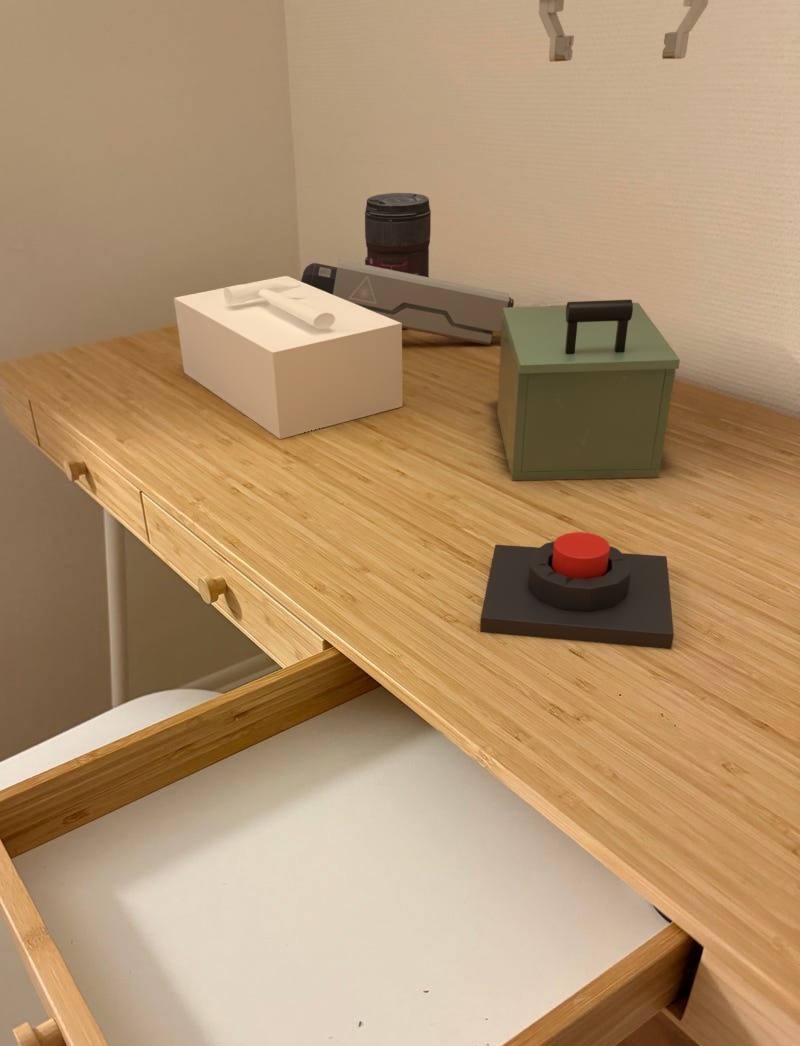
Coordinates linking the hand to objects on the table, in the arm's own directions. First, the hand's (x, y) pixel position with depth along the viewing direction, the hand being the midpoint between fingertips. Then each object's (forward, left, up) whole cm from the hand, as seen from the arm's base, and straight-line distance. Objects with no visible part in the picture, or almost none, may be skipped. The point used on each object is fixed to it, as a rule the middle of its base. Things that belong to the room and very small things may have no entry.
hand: (615, 59), depth 79 cm
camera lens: (+12, -35, -31) cm, 48 cm away
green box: (+3, +8, -30) cm, 32 cm away
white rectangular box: (+29, -14, -30) cm, 44 cm away
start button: (+12, +36, -27) cm, 46 cm away
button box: (+12, +36, -30) cm, 48 cm away
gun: (+13, -25, -31) cm, 42 cm away
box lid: (+3, +8, -21) cm, 22 cm away
